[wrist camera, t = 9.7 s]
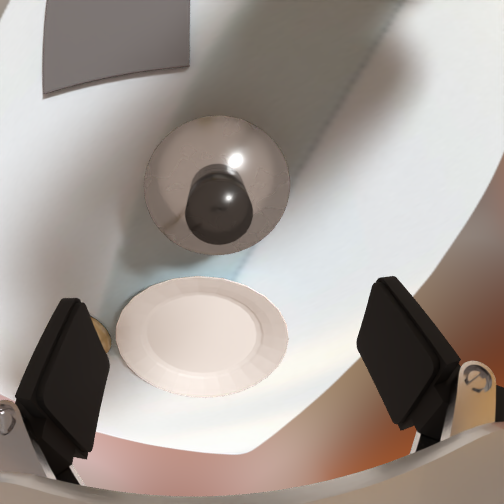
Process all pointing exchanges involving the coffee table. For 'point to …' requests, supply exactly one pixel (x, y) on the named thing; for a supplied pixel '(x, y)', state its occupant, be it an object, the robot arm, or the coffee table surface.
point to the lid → (217, 185)
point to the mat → (112, 39)
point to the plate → (201, 336)
